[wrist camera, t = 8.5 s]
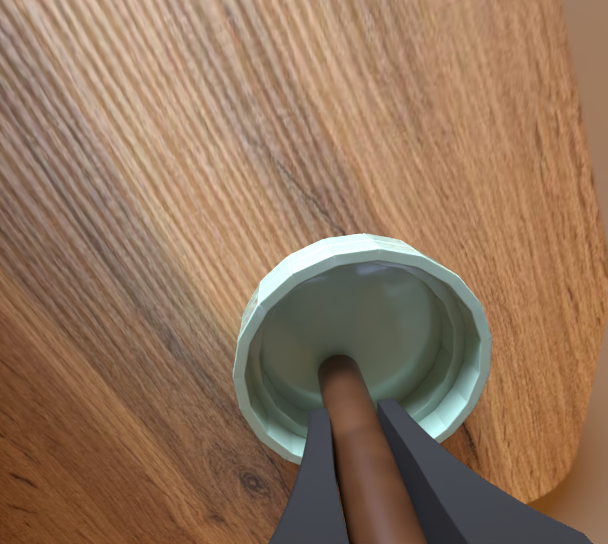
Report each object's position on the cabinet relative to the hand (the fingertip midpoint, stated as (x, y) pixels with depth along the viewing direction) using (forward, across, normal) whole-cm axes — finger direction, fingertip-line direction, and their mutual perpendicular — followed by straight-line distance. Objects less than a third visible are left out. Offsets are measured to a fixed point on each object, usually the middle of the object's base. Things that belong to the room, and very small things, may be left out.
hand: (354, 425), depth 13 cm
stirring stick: (+3, 0, 0) cm, 3 cm away
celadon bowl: (+4, -1, -1) cm, 5 cm away
